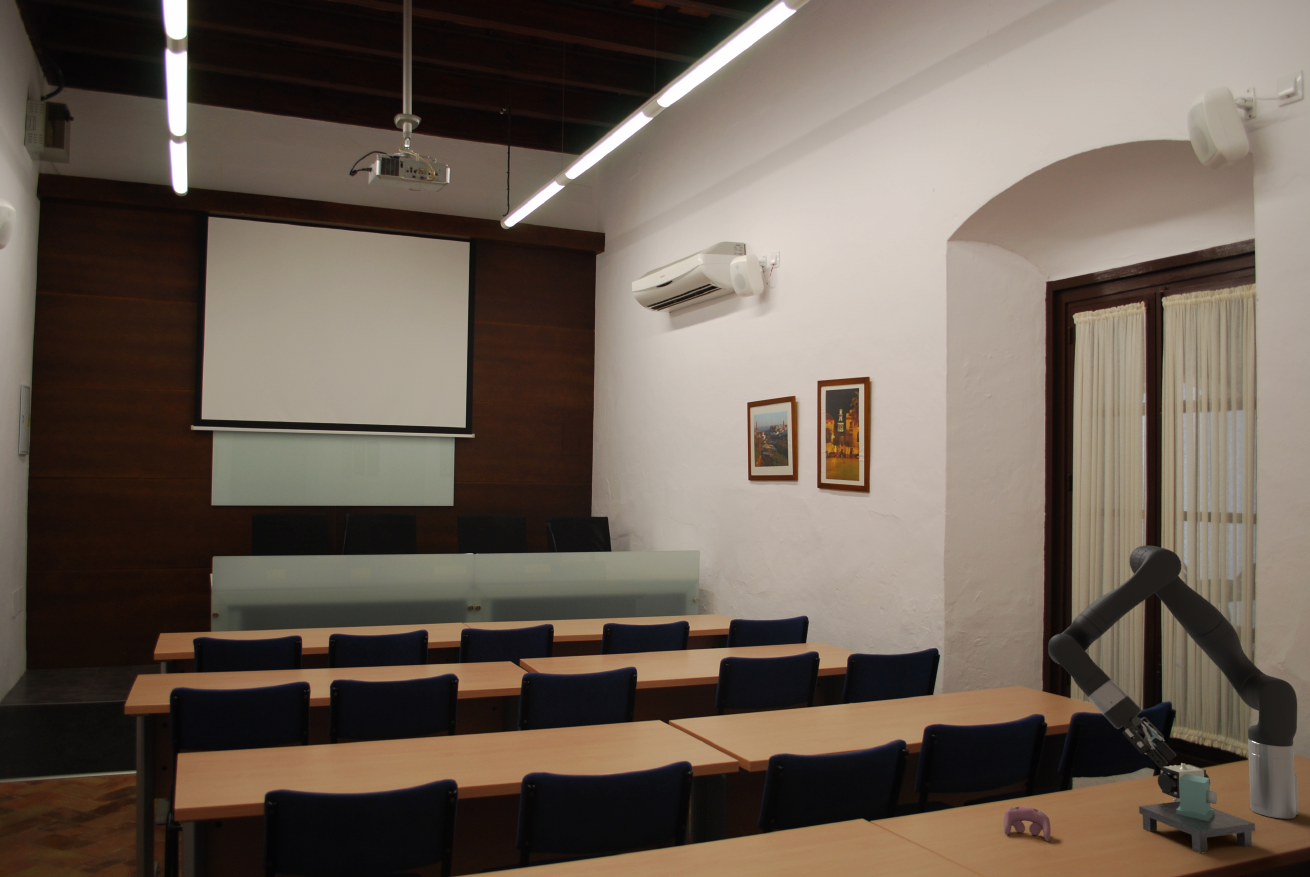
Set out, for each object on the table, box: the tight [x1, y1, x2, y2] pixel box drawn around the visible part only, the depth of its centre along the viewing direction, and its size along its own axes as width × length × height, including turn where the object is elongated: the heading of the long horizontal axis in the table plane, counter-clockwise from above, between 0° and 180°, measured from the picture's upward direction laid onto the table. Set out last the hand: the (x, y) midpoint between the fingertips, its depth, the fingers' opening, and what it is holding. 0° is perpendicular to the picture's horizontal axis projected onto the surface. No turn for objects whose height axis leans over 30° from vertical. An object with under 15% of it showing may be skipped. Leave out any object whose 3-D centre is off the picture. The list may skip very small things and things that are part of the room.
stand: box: [1138, 801, 1256, 854], centre depth 201 cm, size 16×16×5 cm
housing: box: [1176, 774, 1218, 821], centre depth 202 cm, size 6×7×8 cm
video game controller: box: [1003, 806, 1051, 842], centre depth 202 cm, size 10×5×7 cm, turn 66°
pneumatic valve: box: [1157, 762, 1211, 802], centre depth 217 cm, size 6×12×12 cm, turn 106°
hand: (1169, 761), depth 206 cm, fingers open, 8 cm apart
